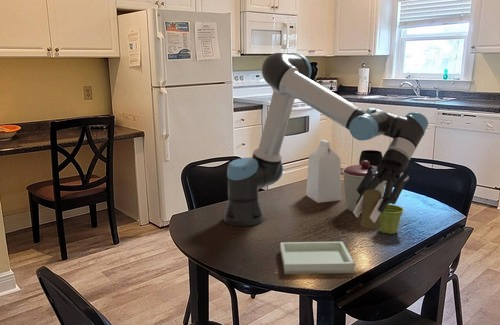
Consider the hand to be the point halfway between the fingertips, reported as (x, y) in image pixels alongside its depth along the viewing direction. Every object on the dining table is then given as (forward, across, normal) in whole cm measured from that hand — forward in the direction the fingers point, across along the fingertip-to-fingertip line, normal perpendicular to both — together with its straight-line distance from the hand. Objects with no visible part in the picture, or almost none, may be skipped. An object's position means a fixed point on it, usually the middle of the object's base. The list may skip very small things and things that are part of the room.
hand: (363, 217), depth 130 cm
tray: (+18, +9, -2) cm, 20 cm away
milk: (-20, +51, -40) cm, 68 cm away
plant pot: (-10, +8, -30) cm, 32 cm away
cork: (0, 0, -5) cm, 5 cm away
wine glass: (-33, +40, -54) cm, 75 cm away
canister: (-18, +28, -39) cm, 51 cm away
